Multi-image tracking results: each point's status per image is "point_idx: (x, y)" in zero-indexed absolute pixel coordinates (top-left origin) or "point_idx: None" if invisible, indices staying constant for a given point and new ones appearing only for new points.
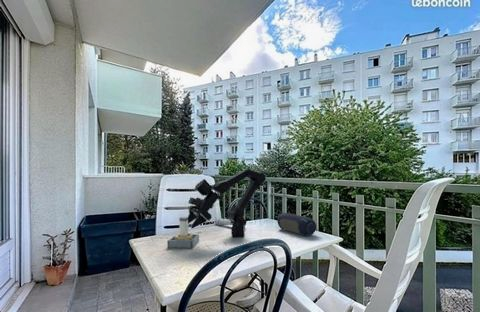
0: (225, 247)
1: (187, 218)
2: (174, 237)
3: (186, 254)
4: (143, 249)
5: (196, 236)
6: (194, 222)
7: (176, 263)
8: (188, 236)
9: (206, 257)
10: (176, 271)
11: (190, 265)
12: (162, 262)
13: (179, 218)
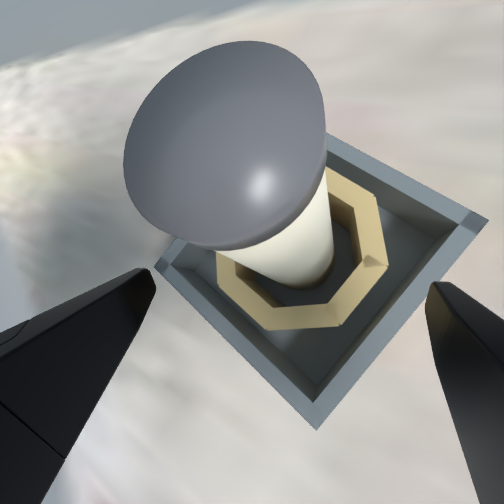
0: (75, 466)
1: (141, 208)
2: (378, 182)
3: (122, 210)
4: (353, 11)
5: (253, 361)
6: (59, 305)
7: (62, 144)
8: (224, 264)
9: (33, 277)
10: (10, 131)
11: (16, 186)
12: (104, 97)
13: (225, 44)
